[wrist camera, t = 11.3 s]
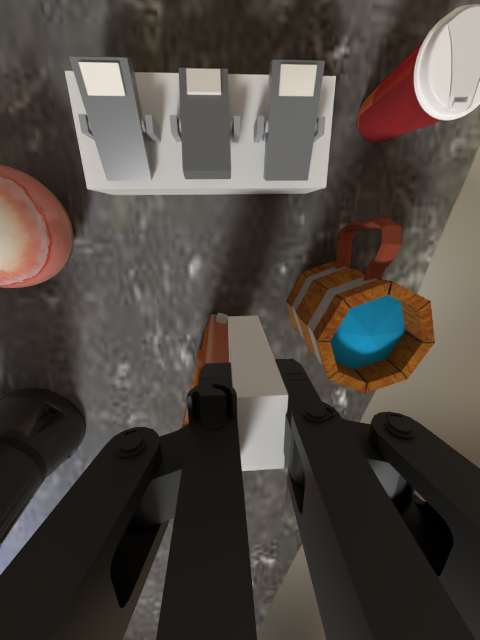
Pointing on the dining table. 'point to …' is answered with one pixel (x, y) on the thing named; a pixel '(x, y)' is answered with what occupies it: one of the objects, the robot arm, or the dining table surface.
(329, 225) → the dining table surface
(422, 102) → the paper cup
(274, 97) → the rocker
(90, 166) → the console
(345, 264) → the mug
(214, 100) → the rocker
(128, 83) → the rocker
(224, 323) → the control panel
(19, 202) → the vase
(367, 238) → the dining table surface
